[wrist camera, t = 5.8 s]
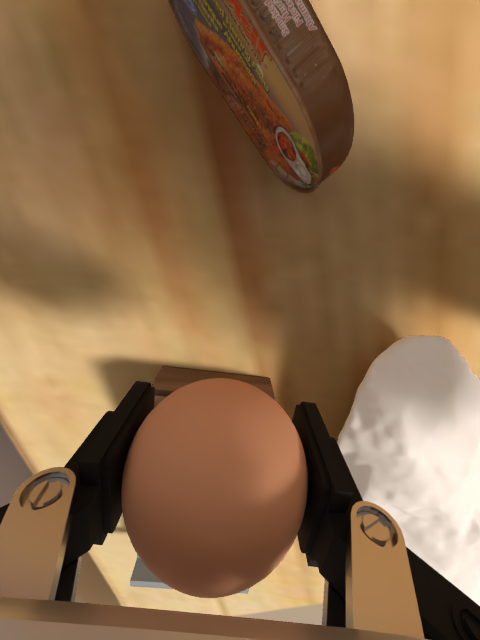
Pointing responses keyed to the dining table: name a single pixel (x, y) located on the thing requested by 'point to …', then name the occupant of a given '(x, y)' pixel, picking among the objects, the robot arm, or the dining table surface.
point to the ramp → (181, 377)
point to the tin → (276, 81)
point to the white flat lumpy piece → (422, 452)
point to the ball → (214, 487)
